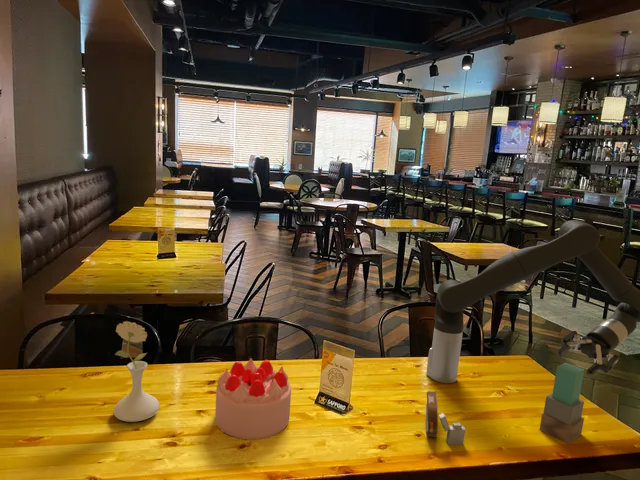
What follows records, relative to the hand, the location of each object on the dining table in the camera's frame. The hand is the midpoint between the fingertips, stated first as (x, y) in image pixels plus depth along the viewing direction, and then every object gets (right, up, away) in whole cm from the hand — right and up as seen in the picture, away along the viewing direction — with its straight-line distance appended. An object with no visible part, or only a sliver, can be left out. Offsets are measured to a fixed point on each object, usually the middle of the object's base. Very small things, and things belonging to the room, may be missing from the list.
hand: (573, 363), depth 133 cm
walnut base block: (-7, -18, -5) cm, 20 cm away
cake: (-91, -13, -9) cm, 93 cm away
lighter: (-40, -17, -14) cm, 46 cm away
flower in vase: (-122, -11, -11) cm, 123 cm away
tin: (-43, -16, -7) cm, 47 cm away
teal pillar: (-6, -8, -7) cm, 12 cm away
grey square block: (-7, -13, -6) cm, 16 cm away
